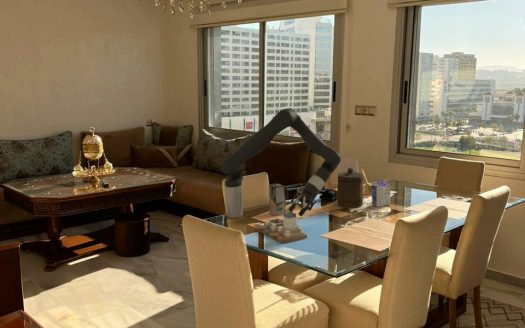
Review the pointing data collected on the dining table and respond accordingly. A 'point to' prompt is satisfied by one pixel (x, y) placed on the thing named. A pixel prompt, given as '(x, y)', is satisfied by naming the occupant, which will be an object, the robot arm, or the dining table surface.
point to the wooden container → (350, 189)
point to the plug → (289, 220)
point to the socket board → (280, 231)
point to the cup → (300, 193)
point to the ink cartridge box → (381, 194)
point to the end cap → (328, 195)
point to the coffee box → (277, 199)
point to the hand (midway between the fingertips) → (294, 213)
